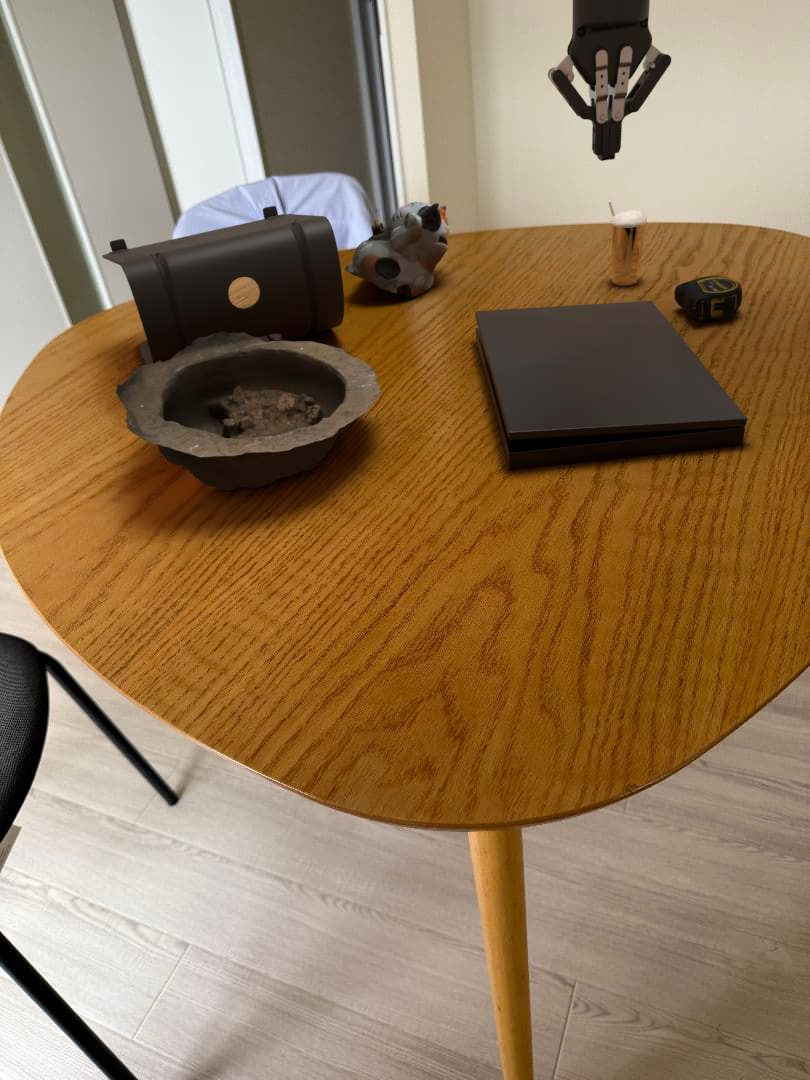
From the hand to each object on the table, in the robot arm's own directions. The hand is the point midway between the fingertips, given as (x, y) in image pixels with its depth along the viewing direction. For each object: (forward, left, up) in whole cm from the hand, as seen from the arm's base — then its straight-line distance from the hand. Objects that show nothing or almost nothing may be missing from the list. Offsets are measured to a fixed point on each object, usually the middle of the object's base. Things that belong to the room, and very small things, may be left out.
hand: (605, 158), depth 87 cm
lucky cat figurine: (+24, -20, -18) cm, 37 cm away
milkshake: (-6, -11, -18) cm, 22 cm away
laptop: (+5, +19, -18) cm, 27 cm away
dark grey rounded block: (+46, -4, -18) cm, 50 cm away
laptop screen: (+5, +19, -16) cm, 25 cm away
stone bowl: (+39, +25, -18) cm, 50 cm away
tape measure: (-12, +4, -18) cm, 22 cm away
